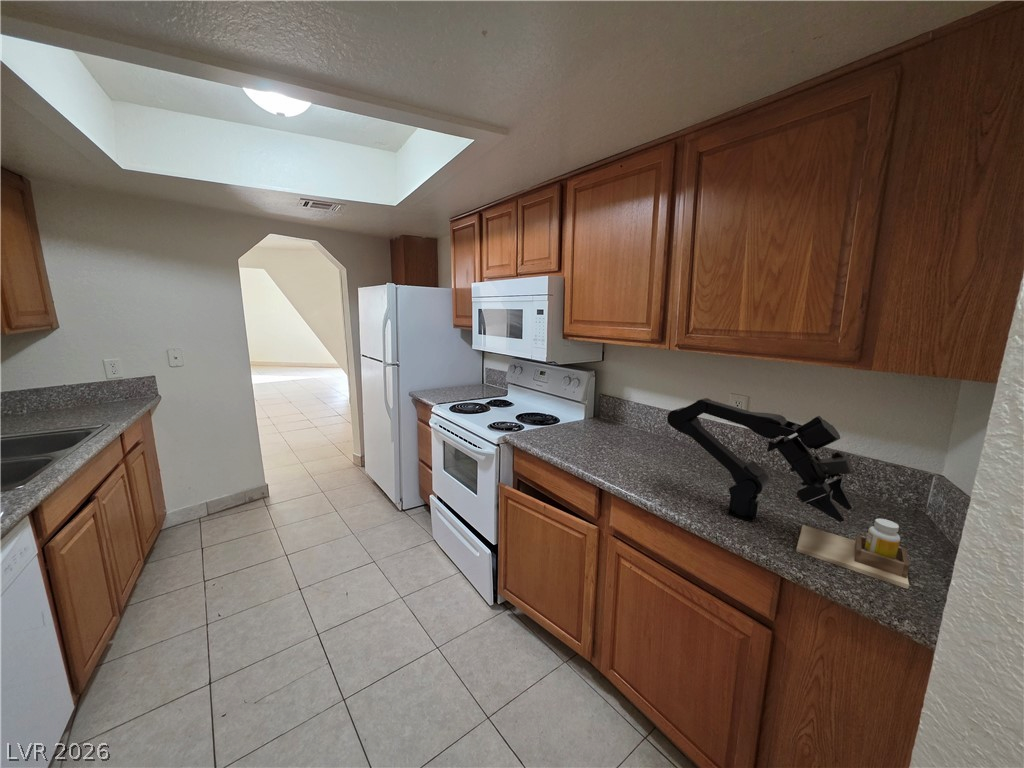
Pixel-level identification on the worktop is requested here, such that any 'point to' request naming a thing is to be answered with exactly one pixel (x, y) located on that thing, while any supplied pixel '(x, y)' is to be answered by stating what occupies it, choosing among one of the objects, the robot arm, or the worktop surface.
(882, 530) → the supplement bottle
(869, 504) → the worktop surface
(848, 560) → the socket board
